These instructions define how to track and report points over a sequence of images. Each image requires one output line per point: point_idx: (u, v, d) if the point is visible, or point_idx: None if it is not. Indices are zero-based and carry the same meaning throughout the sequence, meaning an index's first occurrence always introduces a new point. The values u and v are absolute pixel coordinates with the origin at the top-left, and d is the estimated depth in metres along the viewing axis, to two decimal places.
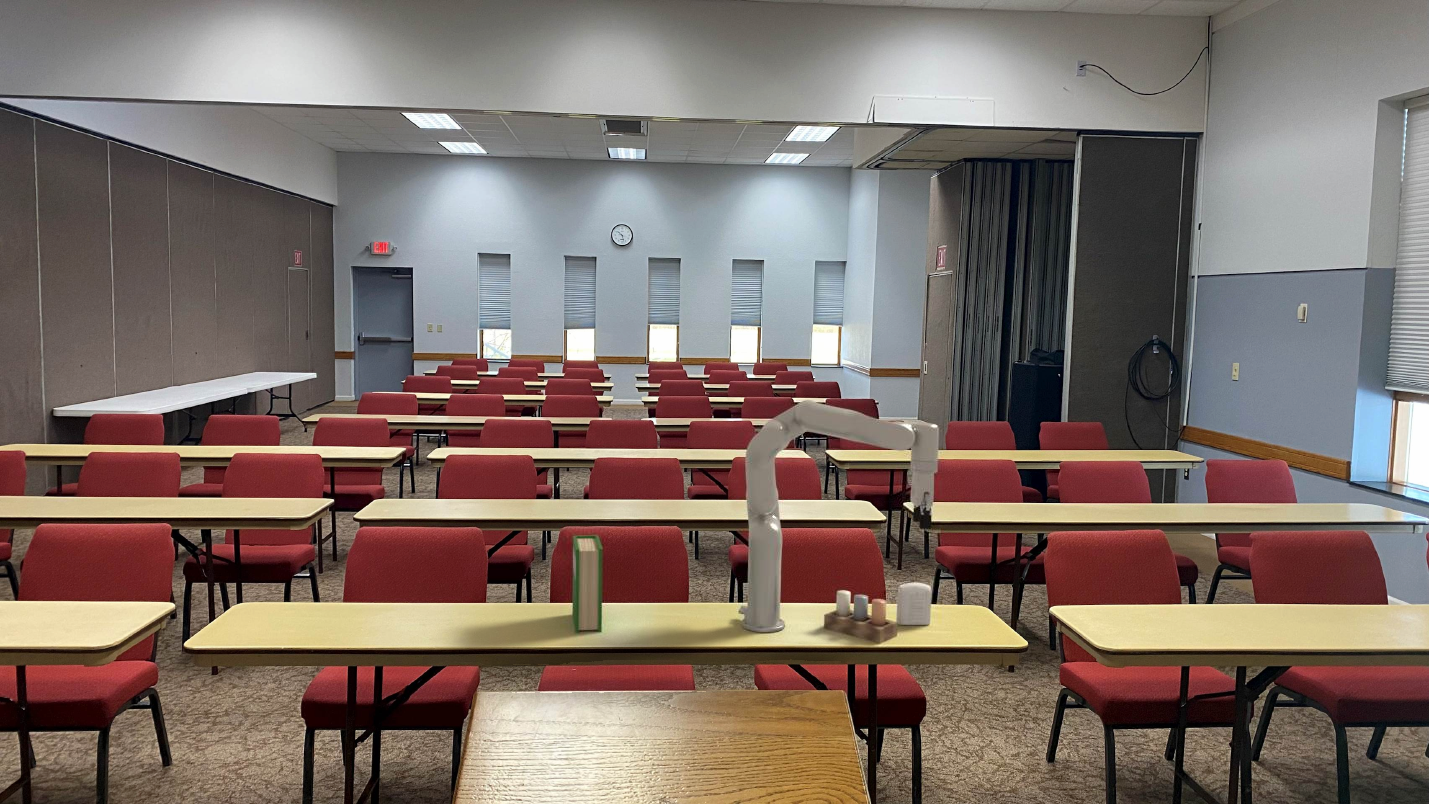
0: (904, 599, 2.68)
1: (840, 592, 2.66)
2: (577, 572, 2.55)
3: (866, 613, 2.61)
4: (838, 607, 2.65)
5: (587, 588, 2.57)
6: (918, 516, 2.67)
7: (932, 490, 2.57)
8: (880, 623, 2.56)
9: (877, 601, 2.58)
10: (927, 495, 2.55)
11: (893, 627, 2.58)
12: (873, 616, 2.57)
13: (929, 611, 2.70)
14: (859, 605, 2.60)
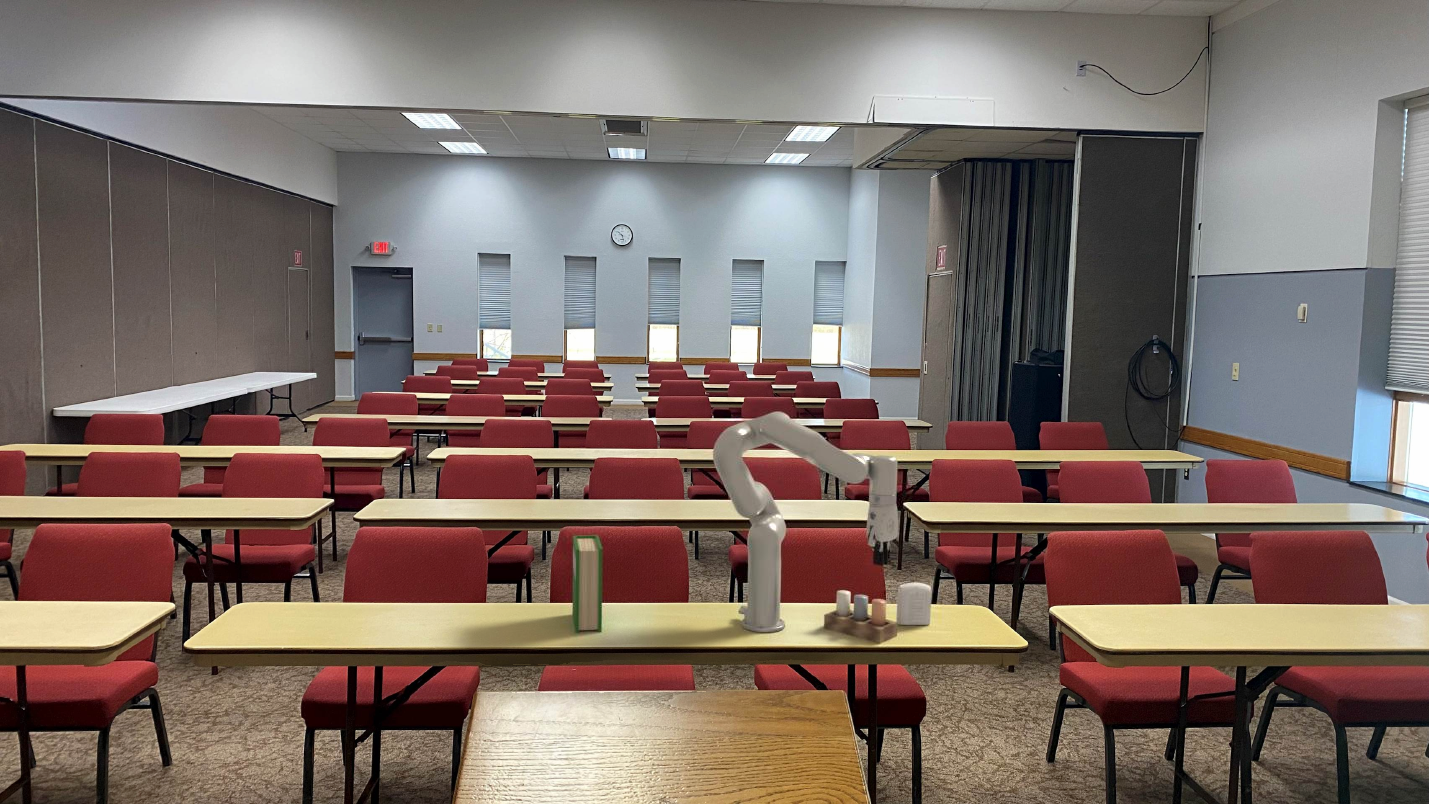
0: (904, 599, 2.68)
1: (840, 592, 2.66)
2: (577, 572, 2.55)
3: (866, 613, 2.61)
4: (838, 607, 2.65)
5: (587, 588, 2.57)
6: None
7: None
8: (880, 623, 2.56)
9: (877, 601, 2.58)
10: None
11: (893, 627, 2.58)
12: (873, 616, 2.57)
13: (929, 611, 2.70)
14: (859, 605, 2.60)
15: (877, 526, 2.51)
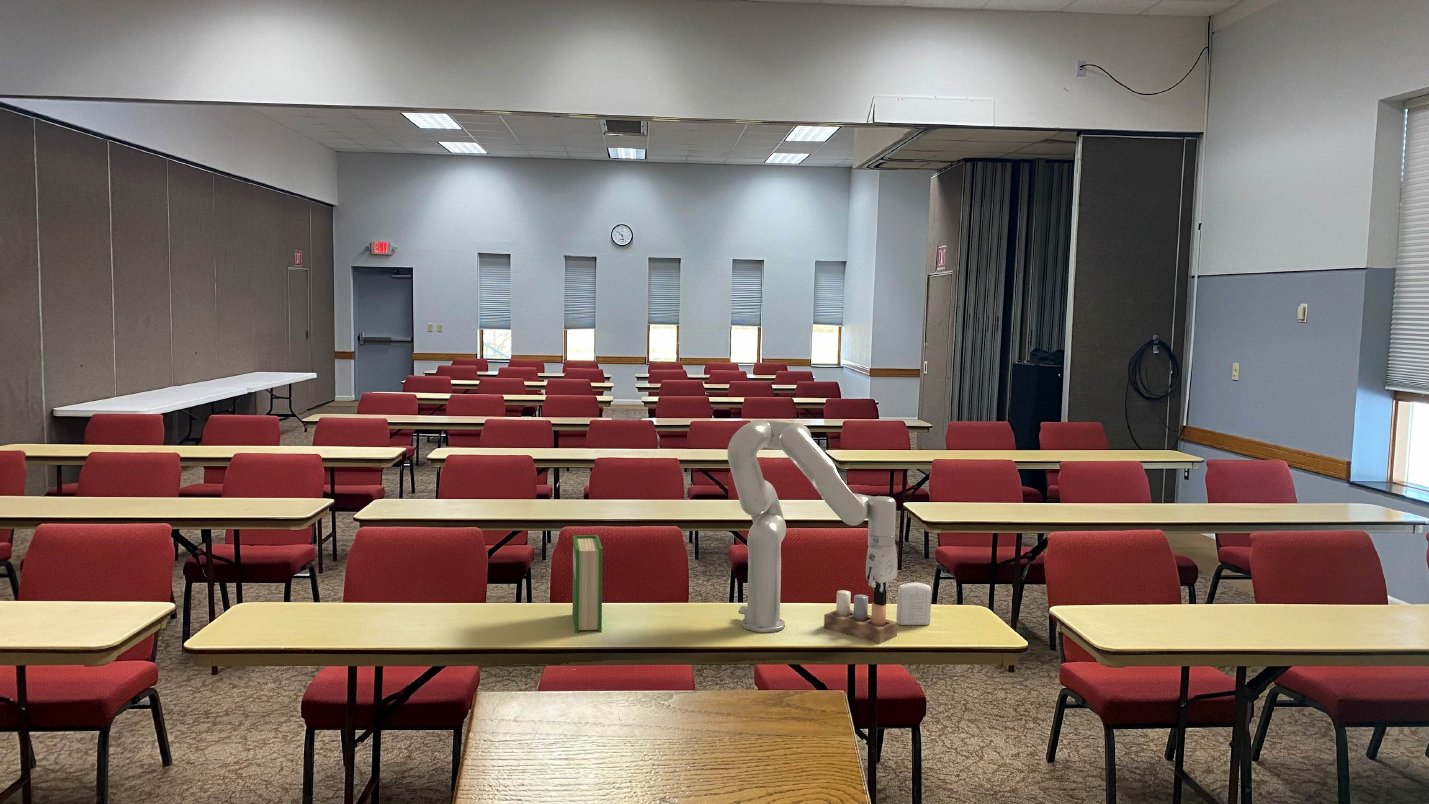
0: (904, 599, 2.68)
1: (840, 592, 2.66)
2: (577, 572, 2.55)
3: (866, 613, 2.61)
4: (838, 607, 2.65)
5: (587, 588, 2.57)
6: None
7: None
8: (880, 626, 2.56)
9: None
10: None
11: (893, 627, 2.58)
12: (873, 619, 2.57)
13: (929, 611, 2.70)
14: (859, 605, 2.60)
15: (876, 567, 2.52)
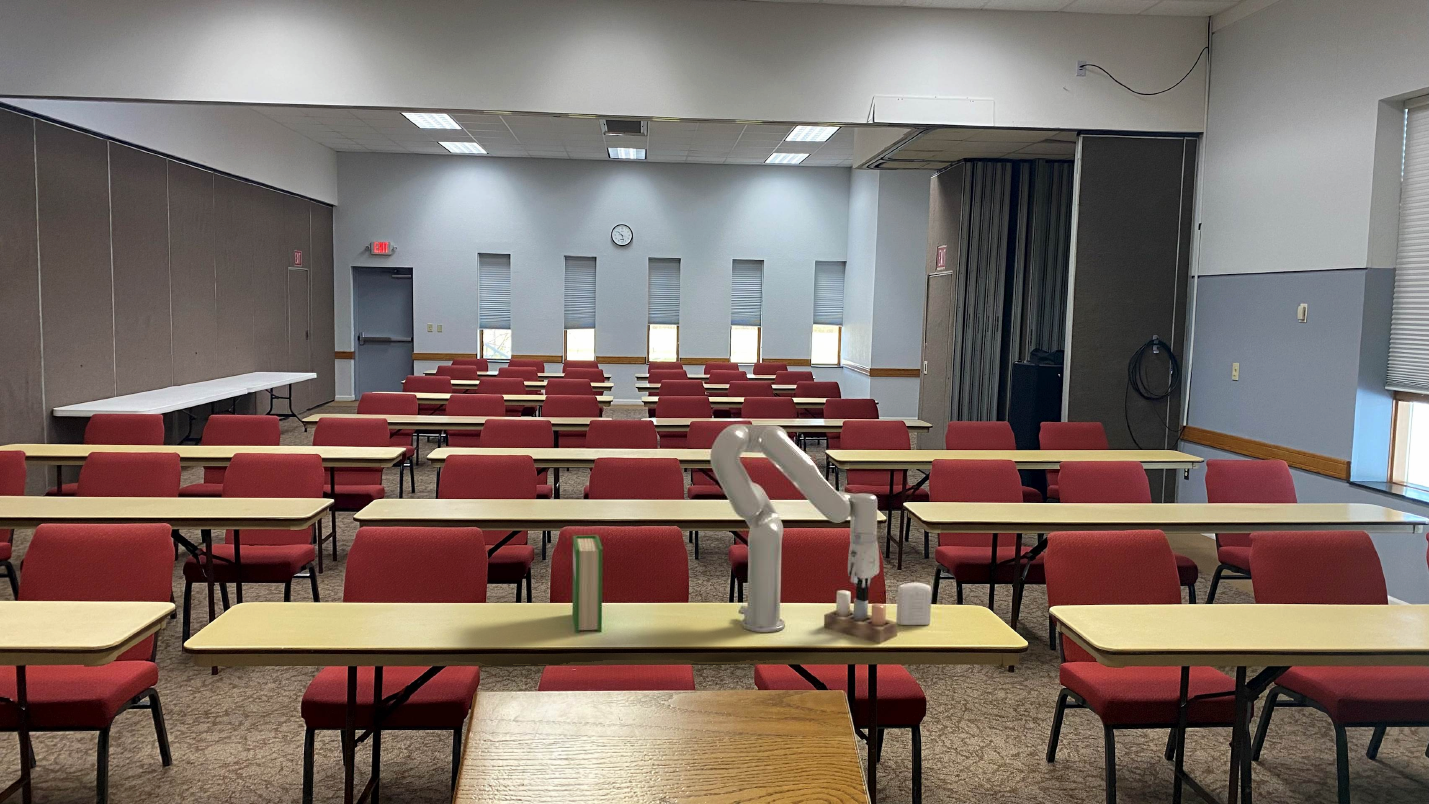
0: (904, 599, 2.68)
1: (840, 592, 2.66)
2: (577, 572, 2.55)
3: (866, 616, 2.61)
4: (838, 607, 2.65)
5: (587, 588, 2.57)
6: None
7: None
8: None
9: (877, 605, 2.58)
10: None
11: (893, 627, 2.58)
12: (873, 621, 2.57)
13: (929, 611, 2.70)
14: (859, 608, 2.60)
15: (858, 563, 2.56)
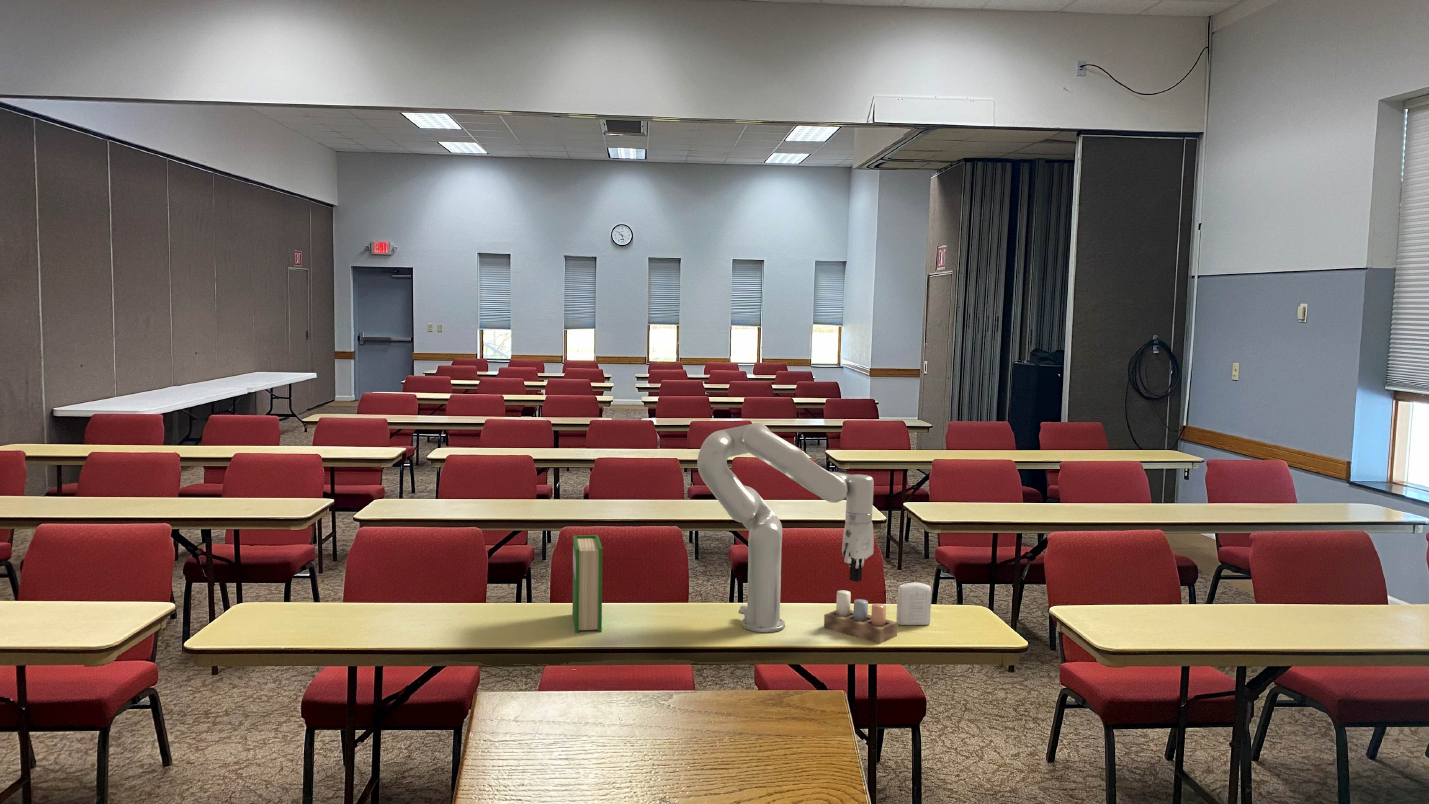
0: (904, 599, 2.68)
1: (840, 592, 2.66)
2: (577, 572, 2.55)
3: (866, 617, 2.61)
4: (838, 607, 2.65)
5: (587, 588, 2.57)
6: None
7: None
8: None
9: (877, 605, 2.58)
10: None
11: (893, 627, 2.58)
12: (873, 621, 2.57)
13: (929, 611, 2.70)
14: (859, 610, 2.60)
15: (852, 544, 2.57)
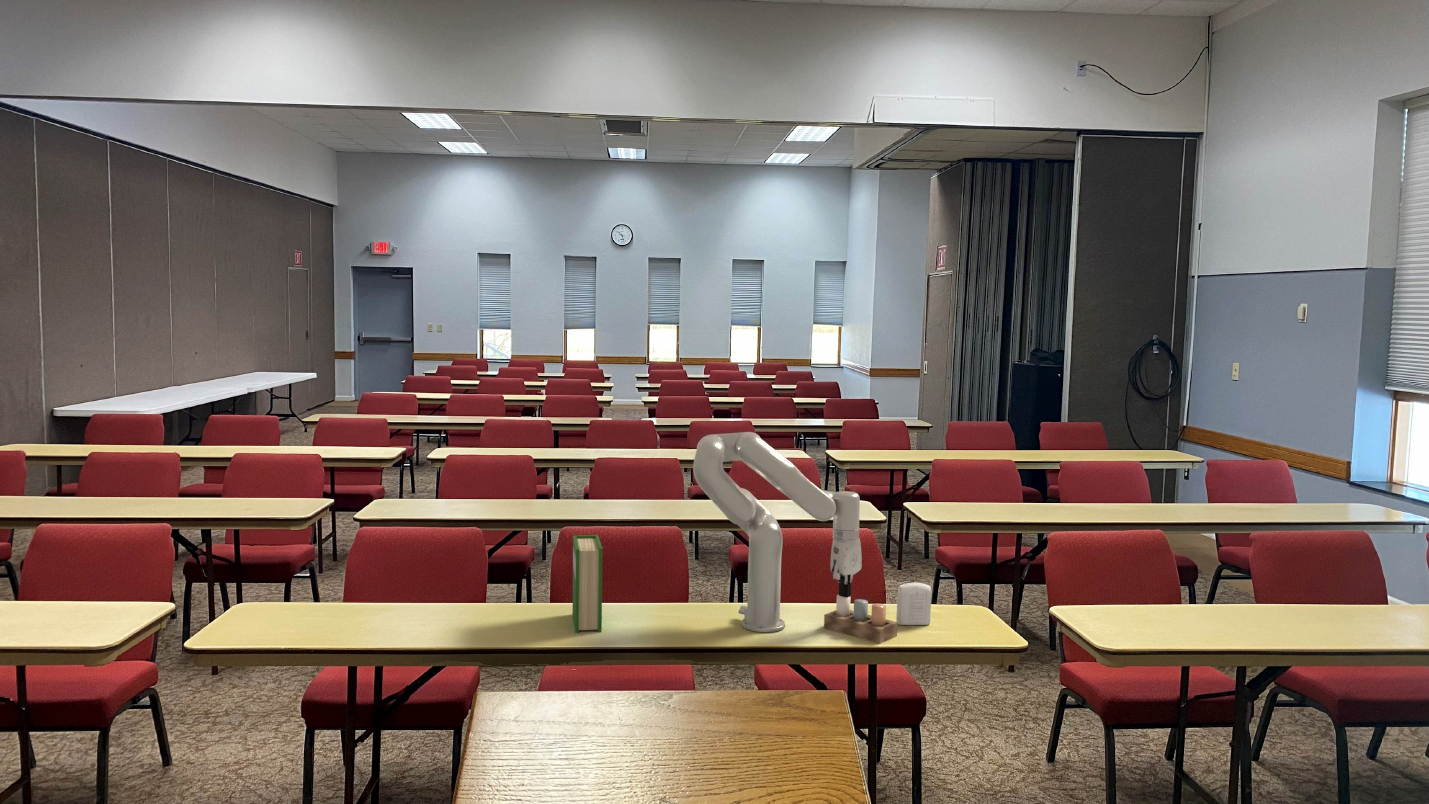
0: (904, 599, 2.68)
1: (840, 596, 2.66)
2: (577, 572, 2.55)
3: (866, 617, 2.61)
4: (838, 611, 2.65)
5: (587, 588, 2.57)
6: None
7: None
8: None
9: (877, 605, 2.58)
10: None
11: (893, 627, 2.58)
12: (873, 621, 2.57)
13: (929, 611, 2.70)
14: (859, 610, 2.60)
15: (840, 560, 2.60)
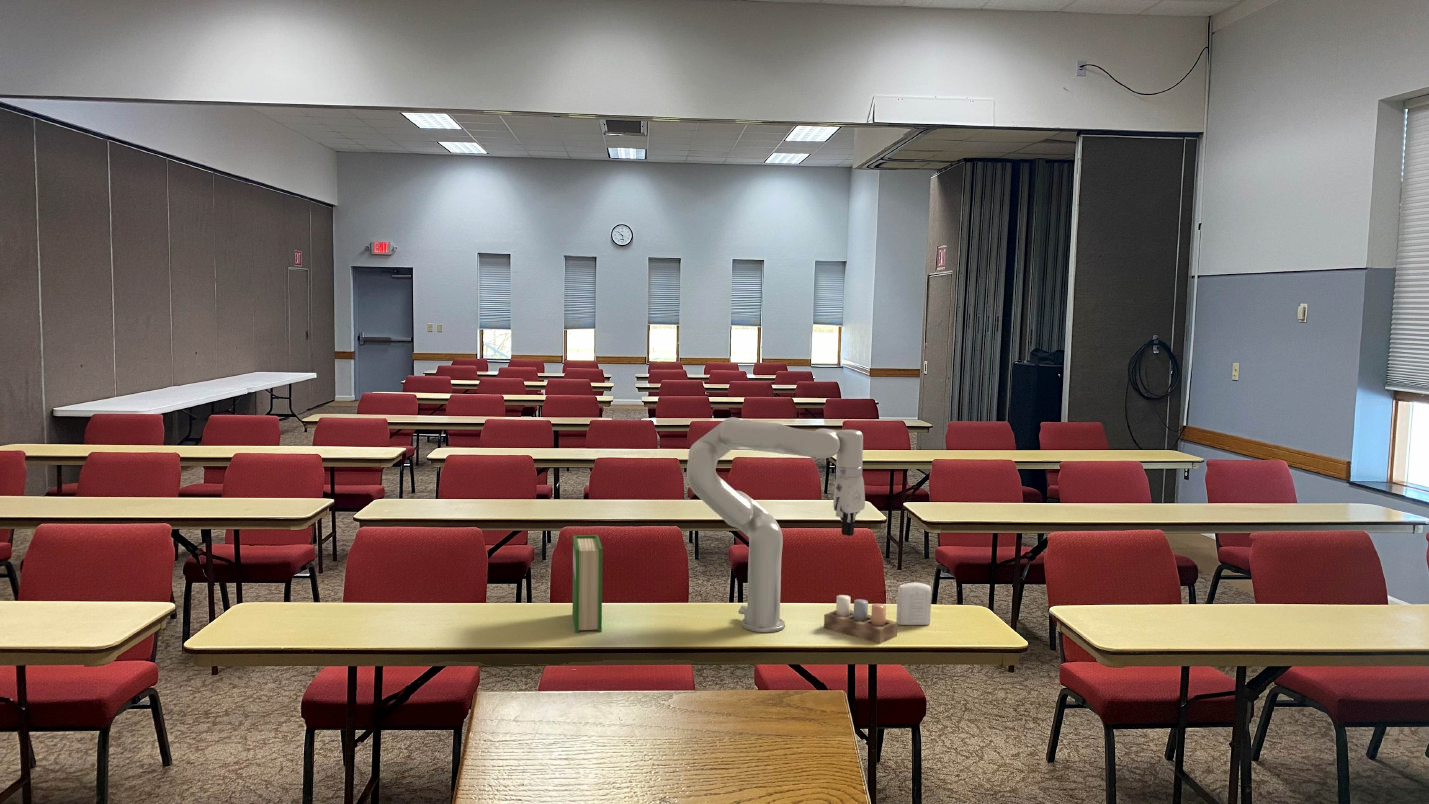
0: (904, 599, 2.68)
1: (840, 597, 2.66)
2: (577, 572, 2.55)
3: (866, 617, 2.61)
4: (838, 612, 2.65)
5: (587, 588, 2.57)
6: None
7: None
8: None
9: (877, 605, 2.58)
10: None
11: (893, 627, 2.58)
12: (873, 621, 2.57)
13: (929, 611, 2.70)
14: (859, 610, 2.60)
15: (843, 498, 2.59)
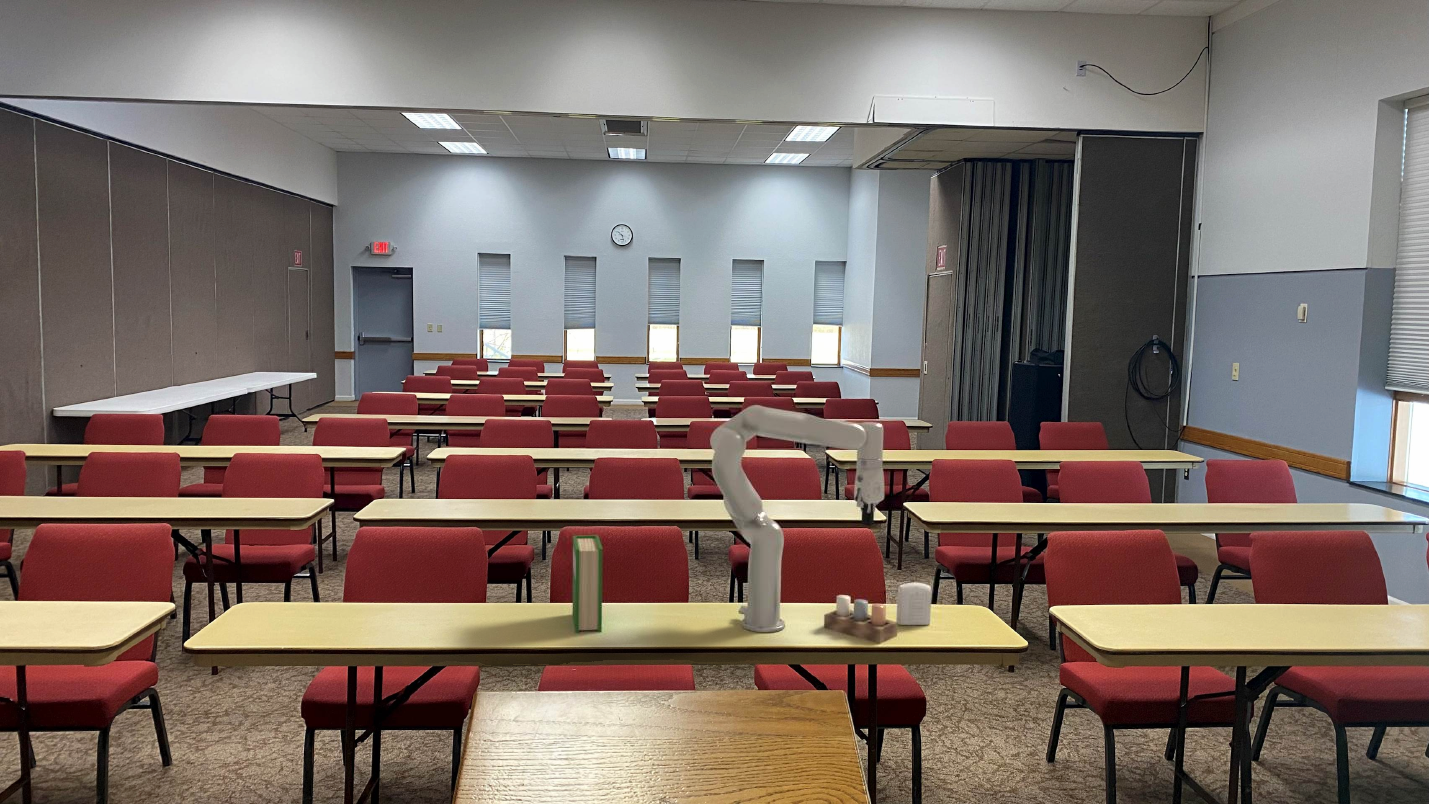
0: (904, 599, 2.68)
1: (840, 597, 2.66)
2: (577, 572, 2.55)
3: (866, 617, 2.61)
4: (838, 612, 2.65)
5: (587, 588, 2.57)
6: None
7: None
8: None
9: (877, 605, 2.58)
10: None
11: (893, 627, 2.58)
12: (873, 621, 2.57)
13: (929, 611, 2.70)
14: (859, 610, 2.60)
15: (864, 488, 2.65)
